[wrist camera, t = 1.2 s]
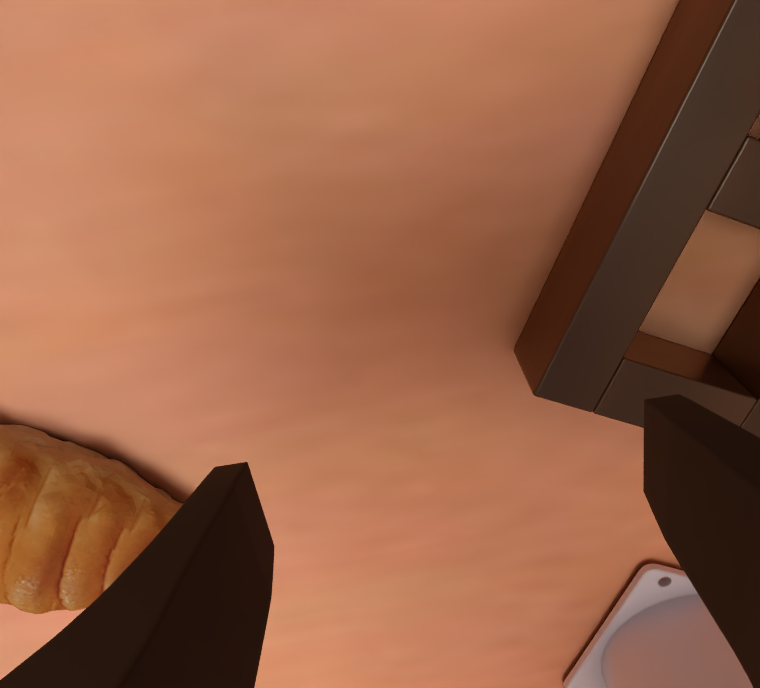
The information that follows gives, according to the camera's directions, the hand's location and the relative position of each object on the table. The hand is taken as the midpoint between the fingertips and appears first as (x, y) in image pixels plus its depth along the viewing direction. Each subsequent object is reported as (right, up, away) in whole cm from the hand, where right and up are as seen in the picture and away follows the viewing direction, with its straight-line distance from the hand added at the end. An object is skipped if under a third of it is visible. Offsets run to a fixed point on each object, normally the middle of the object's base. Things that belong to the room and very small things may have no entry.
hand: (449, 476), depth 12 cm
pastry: (-13, -3, +13) cm, 19 cm away
